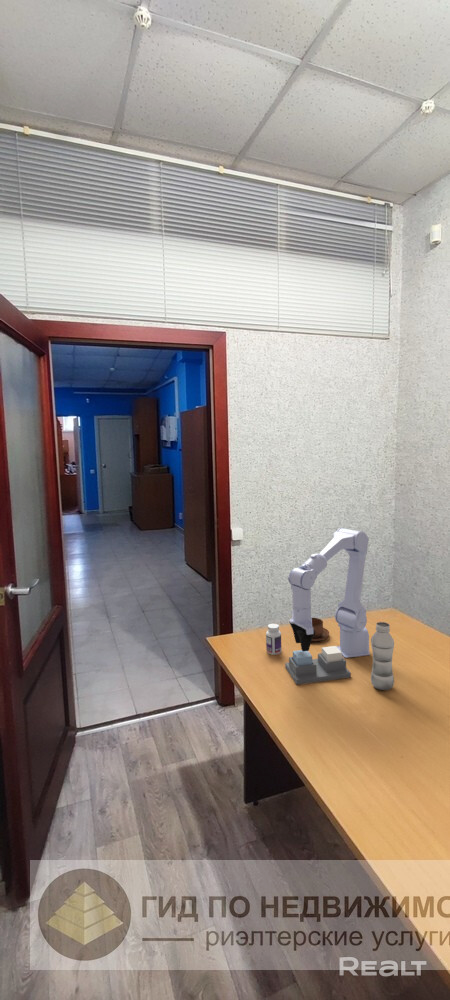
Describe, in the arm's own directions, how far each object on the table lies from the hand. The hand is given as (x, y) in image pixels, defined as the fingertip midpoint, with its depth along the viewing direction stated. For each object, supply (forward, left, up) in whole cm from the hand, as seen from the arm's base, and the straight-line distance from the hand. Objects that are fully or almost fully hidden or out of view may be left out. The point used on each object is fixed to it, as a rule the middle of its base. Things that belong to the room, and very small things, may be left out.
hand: (302, 646), depth 142 cm
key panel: (-5, 0, -9) cm, 11 cm away
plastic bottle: (-20, +13, -10) cm, 26 cm away
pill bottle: (+5, -17, -10) cm, 20 cm away
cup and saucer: (-13, -25, -10) cm, 30 cm away
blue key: (0, 0, -5) cm, 5 cm away
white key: (-10, 0, -5) cm, 11 cm away
